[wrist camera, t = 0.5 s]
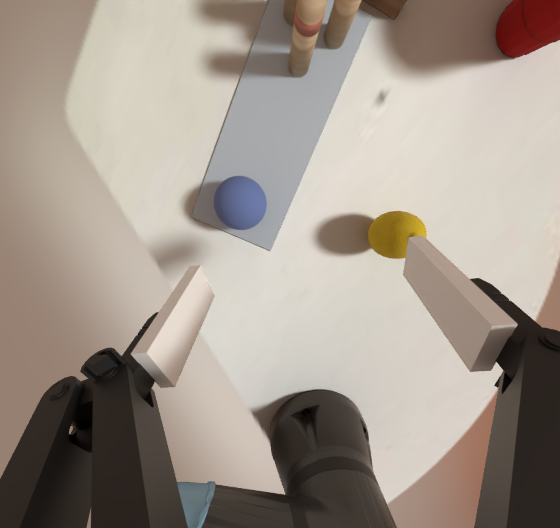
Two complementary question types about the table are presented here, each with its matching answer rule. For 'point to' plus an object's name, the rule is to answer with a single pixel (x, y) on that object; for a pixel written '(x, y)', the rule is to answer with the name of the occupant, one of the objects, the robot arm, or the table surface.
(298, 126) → the plate
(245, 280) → the table surface
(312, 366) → the table surface
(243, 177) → the ball
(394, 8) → the backstop
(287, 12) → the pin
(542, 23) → the plastic cup
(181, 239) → the table surface
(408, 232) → the lemon
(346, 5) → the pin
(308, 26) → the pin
